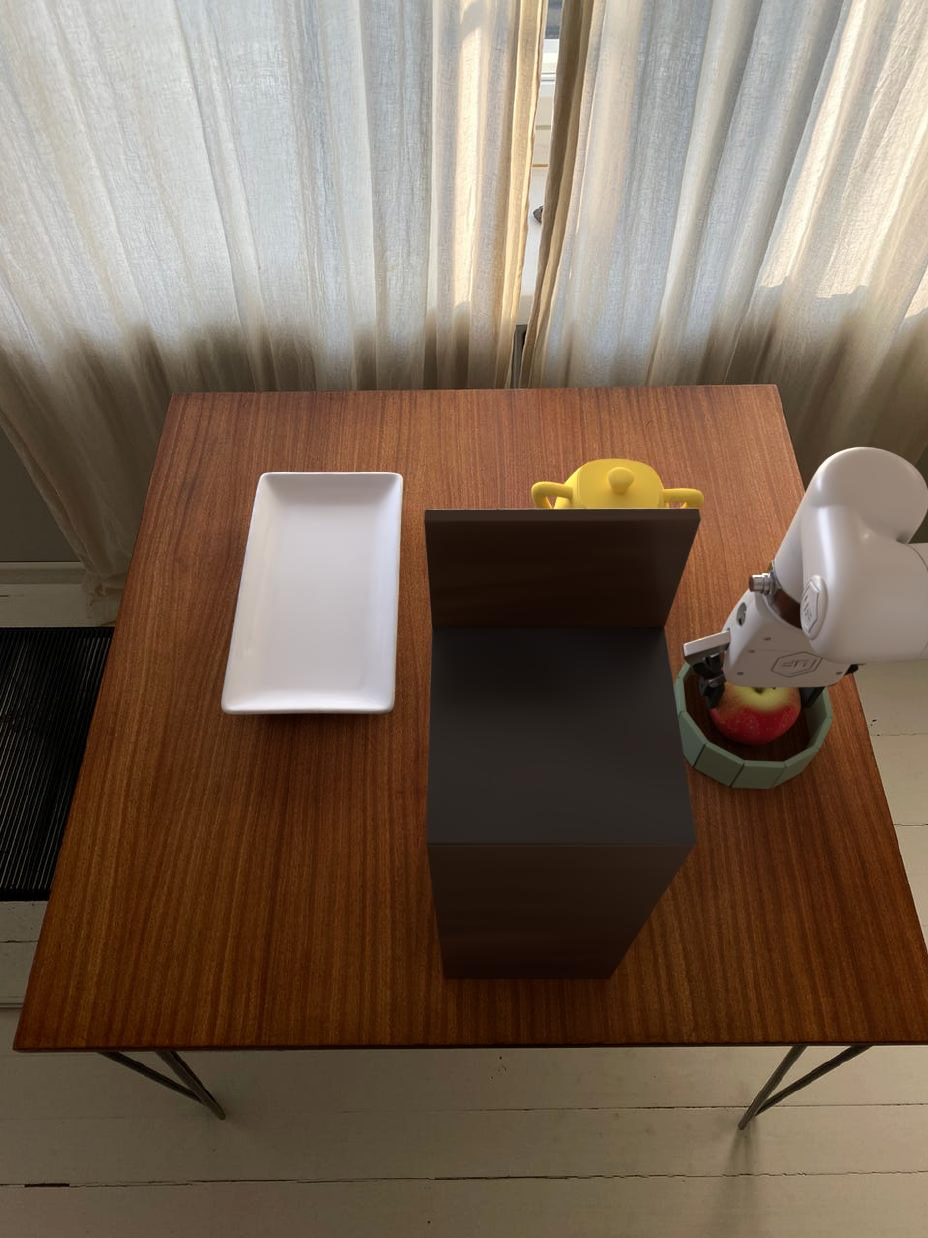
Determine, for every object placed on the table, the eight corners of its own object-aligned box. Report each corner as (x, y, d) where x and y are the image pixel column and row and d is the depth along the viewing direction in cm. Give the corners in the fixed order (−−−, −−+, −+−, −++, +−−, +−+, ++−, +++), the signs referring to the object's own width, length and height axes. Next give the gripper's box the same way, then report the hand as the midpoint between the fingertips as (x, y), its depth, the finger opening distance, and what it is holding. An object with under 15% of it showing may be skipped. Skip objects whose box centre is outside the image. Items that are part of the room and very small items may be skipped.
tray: (406, 489, 104) (404, 468, 101) (396, 727, 86) (393, 711, 83) (264, 490, 104) (258, 470, 101) (226, 729, 86) (217, 713, 84)
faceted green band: (844, 749, 85) (863, 726, 81) (725, 813, 81) (739, 793, 77) (753, 639, 92) (767, 613, 88) (640, 694, 88) (648, 669, 84)
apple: (709, 763, 84) (735, 716, 76) (690, 686, 89) (712, 633, 80) (793, 757, 84) (828, 709, 76) (769, 681, 89) (800, 627, 81)
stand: (610, 979, 73) (748, 761, 37) (443, 979, 73) (415, 762, 37) (596, 819, 81) (699, 507, 44) (446, 819, 81) (424, 508, 44)
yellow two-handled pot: (515, 549, 99) (520, 477, 89) (601, 484, 104) (614, 409, 94) (607, 624, 93) (623, 556, 83) (693, 551, 98) (717, 479, 88)
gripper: (711, 628, 65) (667, 731, 80) (944, 627, 65) (858, 731, 80) (696, 549, 70) (657, 661, 84) (915, 548, 69) (838, 660, 84)
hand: (755, 694), depth 82 cm, fingers closed on apple, 8 cm apart
